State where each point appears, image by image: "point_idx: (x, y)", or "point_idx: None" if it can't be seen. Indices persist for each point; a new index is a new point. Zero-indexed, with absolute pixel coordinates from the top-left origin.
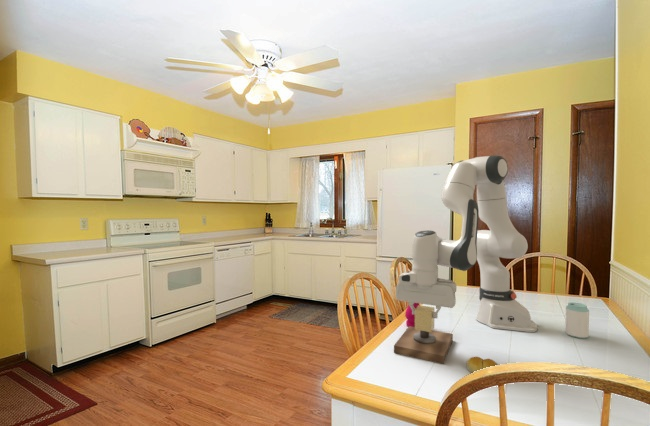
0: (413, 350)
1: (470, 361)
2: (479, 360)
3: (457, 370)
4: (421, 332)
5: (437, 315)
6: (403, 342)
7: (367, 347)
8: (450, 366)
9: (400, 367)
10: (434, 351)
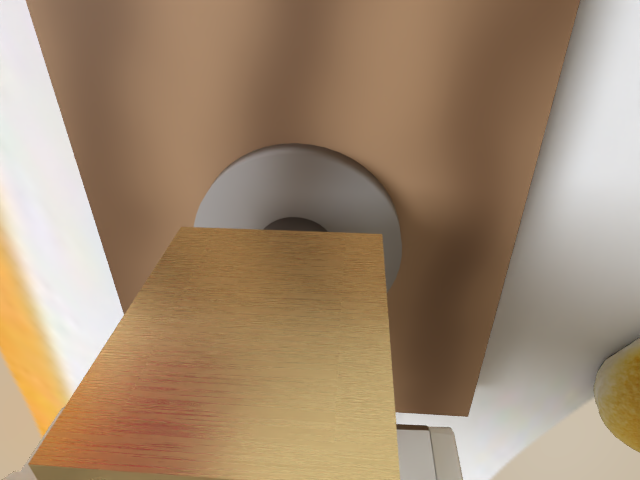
0: None
1: (631, 437)
2: None
3: (530, 407)
4: None
5: (455, 462)
6: None
7: (10, 355)
8: (496, 386)
9: None
10: (406, 387)
